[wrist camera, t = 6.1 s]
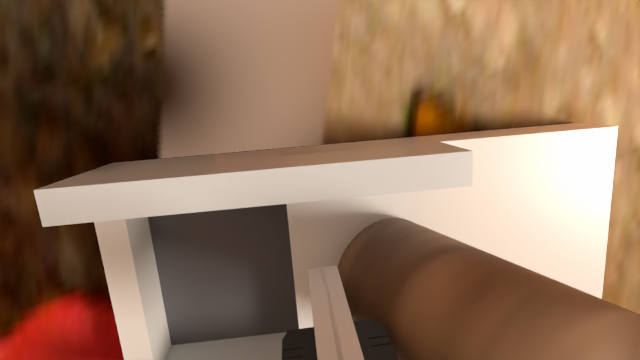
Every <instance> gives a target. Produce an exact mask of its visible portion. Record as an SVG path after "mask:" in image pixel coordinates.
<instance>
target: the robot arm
mask: <svg viewBox="0 0 640 360" xmlns="http://www.w3.org/2000/svg"><path fill="white" fill-rule="evenodd" d="M308 276H309V286H310V296H311V306H312V315H313V325H314V327H311V328H303V329H295V330H288V331H287V333H286V334H285V336H284V338H283V339H282V360H398V357H397V355H396V353H395V350H394V348H393V346H392V344H391V341H390V338H389V337H388V334H387V331H386V329H385V327H384V325H383V324H381V323H380V322H379V321H378V320H377V319H376V318H375V319H367V320H359V321H353V319H352V316H351V312H350V309H349V306H348V302H347V299H346V295H345V292H344V288H343V285H342V281H341V278H340V275H339V271H338V268H337V266H330V267H320V268H312V269H308Z"/></svg>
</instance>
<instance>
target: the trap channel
mask: <svg viewBox="0 0 640 360" xmlns="http://www.w3.org/2000/svg"><path fill="white" fill-rule="evenodd" d="M617 133H618V126H609V125H596V124H583V123H568V124H556V125H545V126H533V127H522V128H510V129H498V130H487V131H475V132H464V133H452V134H440V135H429V136H417V137H406V138H394V139H383V140H371V141H359V142H348V143H336V144H325V145H314V146H302V147H290V148H279V149H267V150H256V151H244V152H233V153H221V154H209V155H197V156H186V157H175V158H163V159H151V160H140V161H128V162H116V163H111V164H108V165H105V166H102V167H99V168H96V169H93V170H90V171H88V172H85V173H82V174H79V175H76V176H73V177H70V178H67V179H64V180H62V181H59V182H56V183H53V184H50V185H47V186H44V187H41V188H38V189H35V190H33V191H34V195H35V199H36V203H37V207H38V211H39V215H40V219H41V223H42V227H47V226H58V225H68V224H79V223H89V222H94V225H95V229H96V234H97V238H98V243H99V248H100V252H101V257H102V261H103V266H104V270H105V275H106V279H107V284H108V289H109V293H110V298H111V302H112V307H113V311H114V316H115V321H116V325H117V330H118V334H119V339H120V343H121V348H122V353H123V357H124V360H282V339H283V338H284V336H285V334H286V333H287V331H288V330H295V329H303V328H311V327H314V325H313V315H312V306H311V296H310V286H309V276H308V269H312V268H320V267H330V266H338V264H339V261H340V258H341V256H342V254H343V252H344V251H345V249H346V247H347V246H348V244H349V243H350V242H351V241H352V239H353V238H354V237H355V236H356V235H357V234H358V233H359V232H360V231H362V230H363V229H364V228H366V227H367V226H369V225H370V224H372V223H374V222H377V221H379V220H382V219H386V218H402V219H406V220H409V221H411V222H414V223H416V224H419V225H421V226H424V227H426V228H429V229H431V230H433V231H436V232H438V233H441V234H443V235H446V236H448V237H451V238H453V239H456V240H458V241H460V242H463V243H465V244H468V245H470V246H473V247H475V248H478V249H480V250H483V251H485V252H487V253H490V254H492V255H495V256H497V257H500V258H502V259H505V260H507V261H510V262H512V263H514V264H517V265H519V266H522V267H524V268H527V269H529V270H532V271H534V272H537V273H539V274H541V275H544V276H546V277H549V278H551V279H554V280H556V281H559V282H561V283H564V284H566V285H568V286H571V287H573V288H576V289H578V290H581V291H583V292H586V293H588V294H591V295H593V296H595V297H598V298H600V299H602V291H603V281H604V270H605V259H606V249H607V238H608V228H609V217H610V207H611V196H612V185H613V175H614V164H615V154H616V143H617Z"/></svg>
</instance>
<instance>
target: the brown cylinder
mask: <svg viewBox="0 0 640 360" xmlns="http://www.w3.org/2000/svg"><path fill="white" fill-rule="evenodd" d="M337 268H338V271H339V275H340V278H341V281H342V285H343V288H344V292H345V295H346V299H347V302H348V306H349V309H350V312H351V316H352V319H353V321H359V320H367V319H375V318H376V319H377V320H378V321H379V322H380V323H381V324H383V325H384V327H385V329H386V331H387V334H388V337H389V338H390V341H391V344H392V346H393V348H394V350H395V353H396V355H397V357H398V360H640V314H637V313H635V312H632V311H630V310H627V309H625V308H622V307H620V306H618V305H615V304H613V303H610V302H608V301H605V300H603V299H600V298H598V297H595V296H593V295H591V294H588V293H586V292H583V291H581V290H578V289H576V288H573V287H571V286H568V285H566V284H564V283H561V282H559V281H556V280H554V279H551V278H549V277H546V276H544V275H541V274H539V273H537V272H534V271H532V270H529V269H527V268H524V267H522V266H519V265H517V264H514V263H512V262H510V261H507V260H505V259H502V258H500V257H497V256H495V255H492V254H490V253H487V252H485V251H483V250H480V249H478V248H475V247H473V246H470V245H468V244H465V243H463V242H460V241H458V240H456V239H453V238H451V237H448V236H446V235H443V234H441V233H438V232H436V231H433V230H431V229H429V228H426V227H424V226H421V225H419V224H416V223H414V222H411V221H409V220H406V219H402V218H386V219H382V220H379V221H377V222H374V223H372V224H370V225H369V226H367V227H366V228H364V229H363V230H362V231H360V232H359V233H358V234H357V235H356V236H355V237H354V238H353V239H352V241H351V242H350V243H349V244H348V246H347V247H346V249H345V251H344V252H343V254H342V256H341V258H340V261H339V264H338V266H337Z"/></svg>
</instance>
